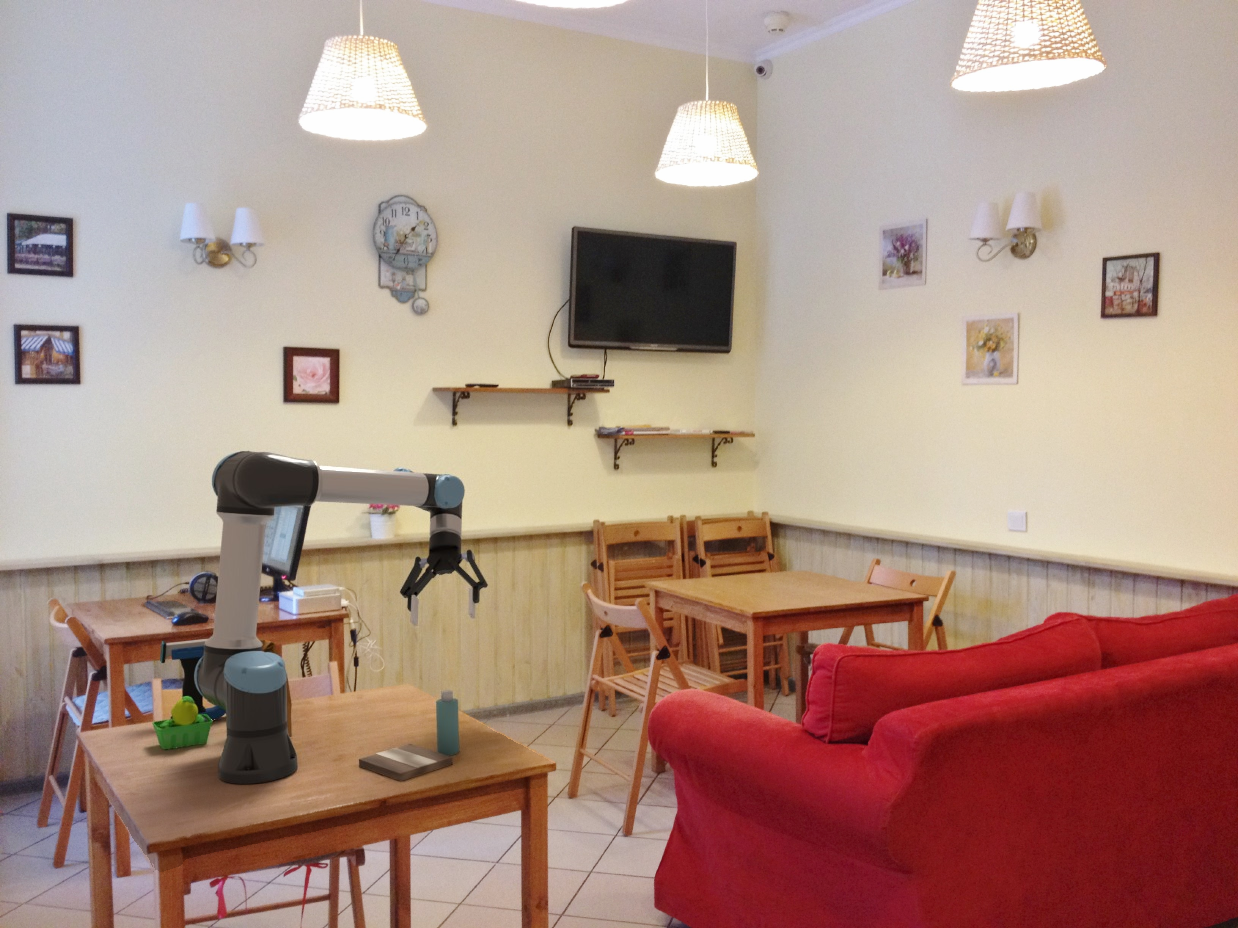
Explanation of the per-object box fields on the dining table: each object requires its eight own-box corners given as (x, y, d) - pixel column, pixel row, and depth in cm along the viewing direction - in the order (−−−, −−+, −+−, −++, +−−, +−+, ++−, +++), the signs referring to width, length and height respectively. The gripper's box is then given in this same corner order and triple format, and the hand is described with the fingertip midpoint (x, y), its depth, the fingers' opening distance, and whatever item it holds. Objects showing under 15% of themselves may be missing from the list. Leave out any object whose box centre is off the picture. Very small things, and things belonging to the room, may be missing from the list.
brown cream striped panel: (400, 780, 207) (400, 772, 207) (359, 766, 216) (358, 758, 216) (452, 764, 216) (452, 756, 216) (410, 750, 226) (410, 743, 226)
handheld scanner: (162, 722, 250) (159, 640, 249) (234, 713, 257) (231, 634, 255) (162, 728, 246) (159, 644, 245) (235, 718, 253) (233, 637, 251)
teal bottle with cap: (446, 756, 221) (445, 695, 220) (432, 752, 224) (431, 691, 224) (463, 751, 224) (462, 691, 224) (449, 747, 228) (448, 687, 227)
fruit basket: (206, 735, 240) (204, 685, 239) (215, 744, 232) (213, 694, 232) (152, 744, 233) (150, 693, 233) (159, 754, 226) (157, 702, 225)
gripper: (500, 537, 253) (500, 619, 241) (400, 551, 255) (395, 632, 244) (492, 522, 246) (491, 606, 235) (389, 536, 249) (384, 619, 238)
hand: (442, 619), depth 239 cm, fingers open, 13 cm apart
